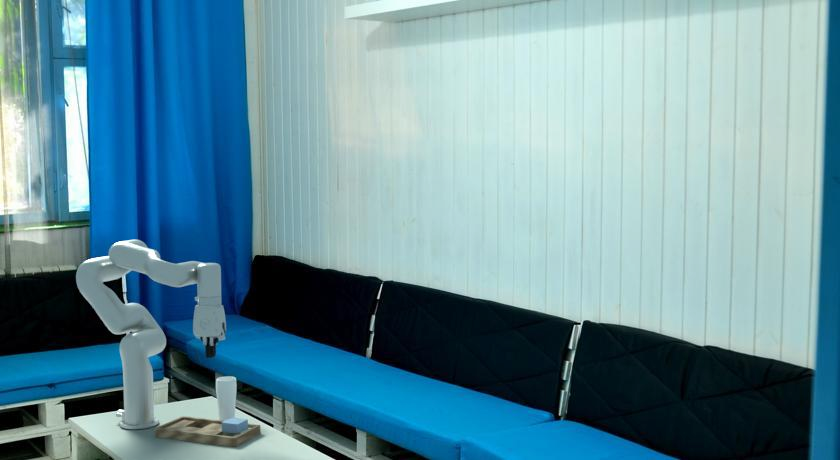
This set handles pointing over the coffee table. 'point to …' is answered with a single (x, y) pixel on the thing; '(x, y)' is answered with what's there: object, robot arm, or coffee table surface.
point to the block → (234, 425)
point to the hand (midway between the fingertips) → (210, 356)
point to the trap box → (204, 431)
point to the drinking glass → (226, 397)
